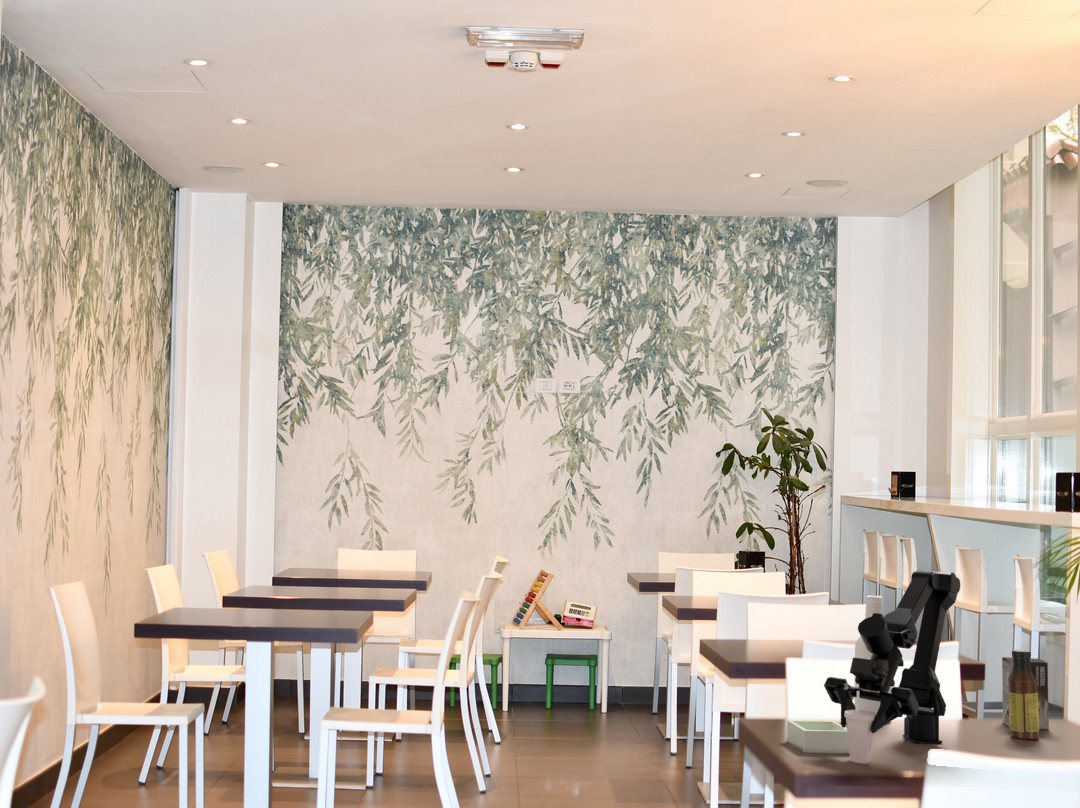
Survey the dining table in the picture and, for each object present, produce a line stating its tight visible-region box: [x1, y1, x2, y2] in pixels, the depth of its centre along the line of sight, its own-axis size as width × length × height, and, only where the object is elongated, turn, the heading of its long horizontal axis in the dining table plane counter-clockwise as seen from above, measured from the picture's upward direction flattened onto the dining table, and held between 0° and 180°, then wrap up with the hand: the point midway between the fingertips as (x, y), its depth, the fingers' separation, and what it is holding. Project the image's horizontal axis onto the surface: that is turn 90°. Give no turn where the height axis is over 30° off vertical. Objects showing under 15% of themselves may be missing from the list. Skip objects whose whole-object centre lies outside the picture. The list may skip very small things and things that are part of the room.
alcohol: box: [853, 594, 892, 714], centre depth 263 cm, size 9×9×30 cm
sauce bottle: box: [1008, 649, 1040, 741], centre depth 249 cm, size 6×6×20 cm
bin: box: [786, 719, 850, 754], centre depth 230 cm, size 11×11×4 cm
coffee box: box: [1001, 656, 1050, 730], centre depth 262 cm, size 9×6×16 cm
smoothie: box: [844, 691, 876, 765], centre depth 218 cm, size 6×6×14 cm
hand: (857, 728), depth 217 cm, fingers closed on smoothie, 6 cm apart
